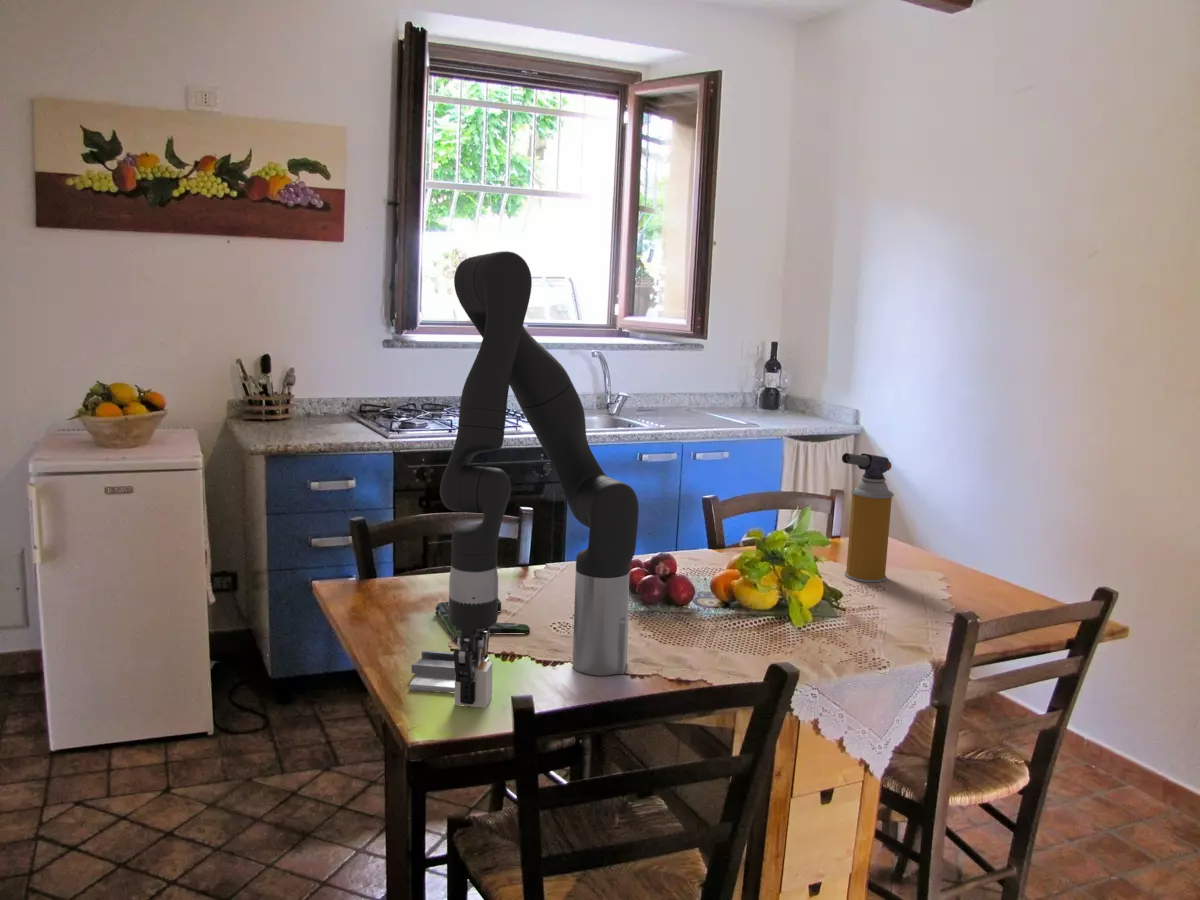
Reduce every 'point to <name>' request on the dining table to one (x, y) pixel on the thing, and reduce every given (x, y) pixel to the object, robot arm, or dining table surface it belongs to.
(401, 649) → the dining table surface
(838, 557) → the dining table surface
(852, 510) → the blowtorch
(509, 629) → the pistol
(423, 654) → the rail panel
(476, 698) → the block
